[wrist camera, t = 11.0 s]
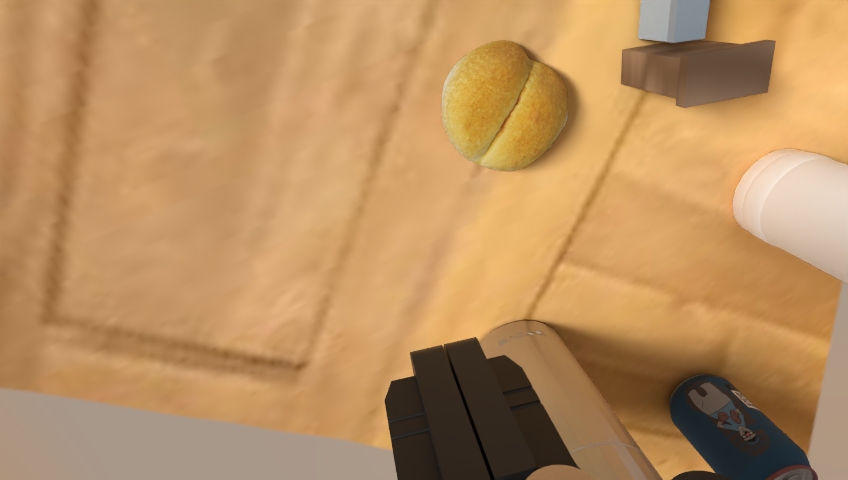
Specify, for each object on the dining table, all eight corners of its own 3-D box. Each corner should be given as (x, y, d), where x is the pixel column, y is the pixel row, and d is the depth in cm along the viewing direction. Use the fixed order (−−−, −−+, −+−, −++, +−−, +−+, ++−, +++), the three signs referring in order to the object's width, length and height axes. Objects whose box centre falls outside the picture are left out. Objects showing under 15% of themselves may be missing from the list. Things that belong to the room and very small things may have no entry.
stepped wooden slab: (686, 76, 38) (767, 92, 32) (617, 88, 38) (684, 107, 31) (690, 33, 37) (775, 40, 30) (618, 46, 37) (688, 56, 30)
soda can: (695, 427, 56) (784, 528, 45) (650, 410, 53) (733, 513, 43) (736, 379, 54) (840, 473, 43) (692, 360, 51) (790, 454, 41)
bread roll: (476, 19, 34) (495, 20, 31) (574, 88, 38) (600, 97, 34) (414, 126, 37) (424, 139, 33) (511, 182, 40) (530, 200, 36)
